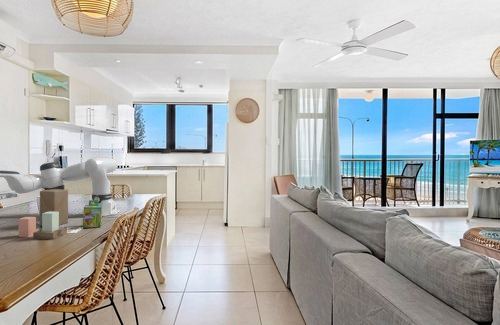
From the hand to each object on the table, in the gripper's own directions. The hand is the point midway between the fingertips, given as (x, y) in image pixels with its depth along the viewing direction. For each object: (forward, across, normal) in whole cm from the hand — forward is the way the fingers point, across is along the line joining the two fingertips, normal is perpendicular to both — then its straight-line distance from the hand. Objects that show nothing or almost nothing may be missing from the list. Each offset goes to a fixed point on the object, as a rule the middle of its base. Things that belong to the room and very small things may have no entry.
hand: (9, 196), depth 154 cm
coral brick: (+12, +4, -19) cm, 23 cm away
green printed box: (+33, -19, -19) cm, 43 cm away
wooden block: (+9, -20, -19) cm, 29 cm away
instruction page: (+27, -9, -19) cm, 34 cm away
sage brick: (+24, +4, -16) cm, 29 cm away
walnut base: (+24, +4, -19) cm, 31 cm away
